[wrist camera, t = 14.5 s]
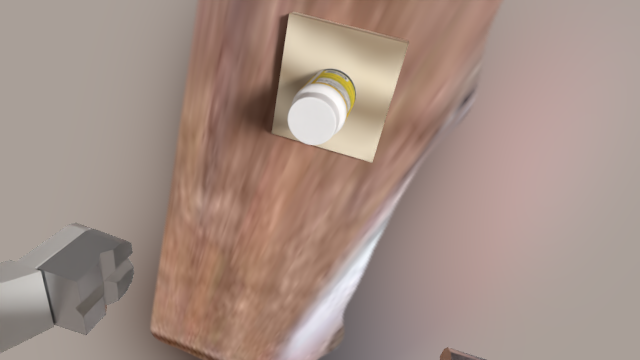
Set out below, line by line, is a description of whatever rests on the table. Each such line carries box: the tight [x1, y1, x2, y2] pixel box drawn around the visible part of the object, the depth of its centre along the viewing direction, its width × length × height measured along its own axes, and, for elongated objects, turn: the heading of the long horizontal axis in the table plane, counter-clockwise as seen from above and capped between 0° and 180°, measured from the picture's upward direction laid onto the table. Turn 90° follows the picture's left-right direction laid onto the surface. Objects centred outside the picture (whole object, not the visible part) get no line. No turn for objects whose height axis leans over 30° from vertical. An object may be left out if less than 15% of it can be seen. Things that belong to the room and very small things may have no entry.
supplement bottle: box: [287, 68, 356, 145], centre depth 34 cm, size 5×5×8 cm
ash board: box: [272, 12, 409, 162], centre depth 38 cm, size 12×11×2 cm
